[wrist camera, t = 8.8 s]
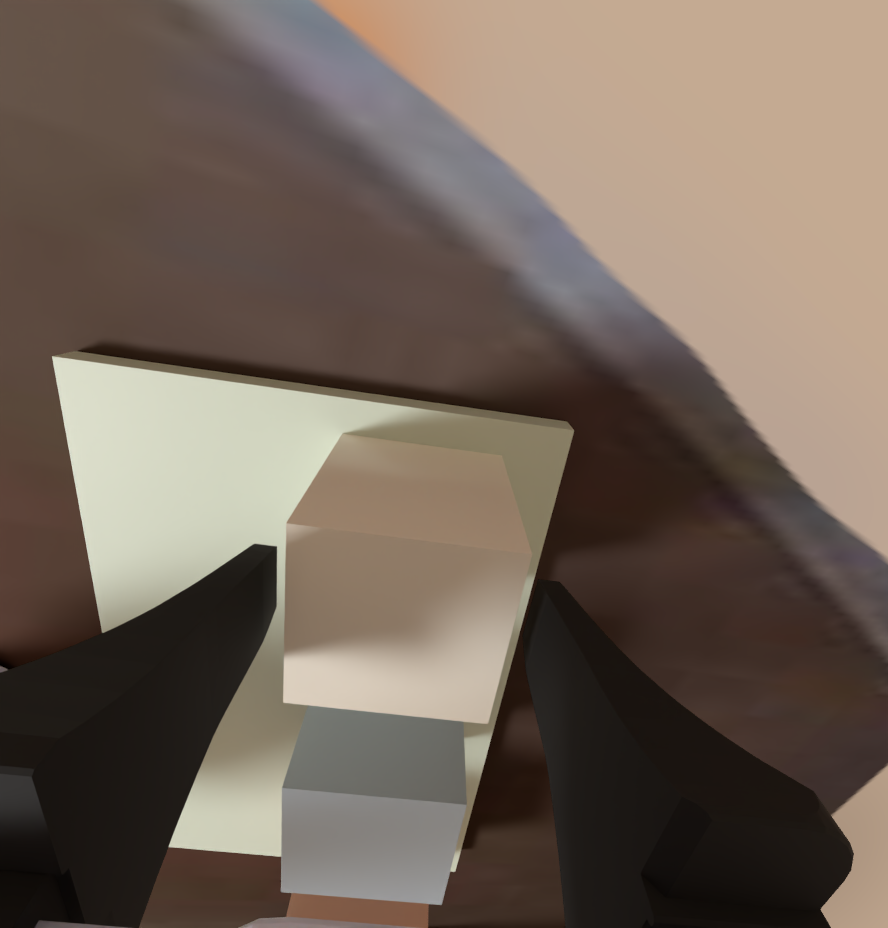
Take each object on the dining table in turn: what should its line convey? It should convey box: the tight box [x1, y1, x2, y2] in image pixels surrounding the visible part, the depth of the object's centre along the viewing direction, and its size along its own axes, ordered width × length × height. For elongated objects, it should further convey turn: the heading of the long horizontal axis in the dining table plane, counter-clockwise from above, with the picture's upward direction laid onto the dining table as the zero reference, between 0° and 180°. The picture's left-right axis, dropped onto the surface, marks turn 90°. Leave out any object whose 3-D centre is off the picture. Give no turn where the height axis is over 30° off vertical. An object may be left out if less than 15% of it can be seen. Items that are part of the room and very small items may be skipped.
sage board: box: [52, 351, 574, 872], centre depth 21 cm, size 26×17×1 cm, turn 172°
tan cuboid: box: [283, 434, 532, 724], centre depth 14 cm, size 6×6×6 cm
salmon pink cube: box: [286, 893, 428, 928], centre depth 21 cm, size 6×6×6 cm
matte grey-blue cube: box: [281, 705, 467, 905], centre depth 18 cm, size 6×6×6 cm
